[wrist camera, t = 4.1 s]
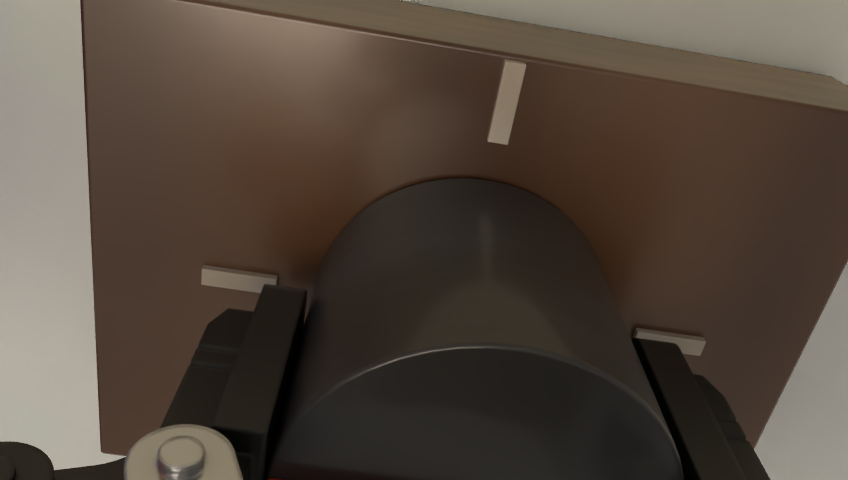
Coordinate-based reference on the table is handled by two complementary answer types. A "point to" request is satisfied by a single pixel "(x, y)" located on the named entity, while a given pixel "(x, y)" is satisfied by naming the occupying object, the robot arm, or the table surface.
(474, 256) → the knob
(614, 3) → the table surface
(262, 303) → the robot arm
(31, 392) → the table surface
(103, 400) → the dial panel
